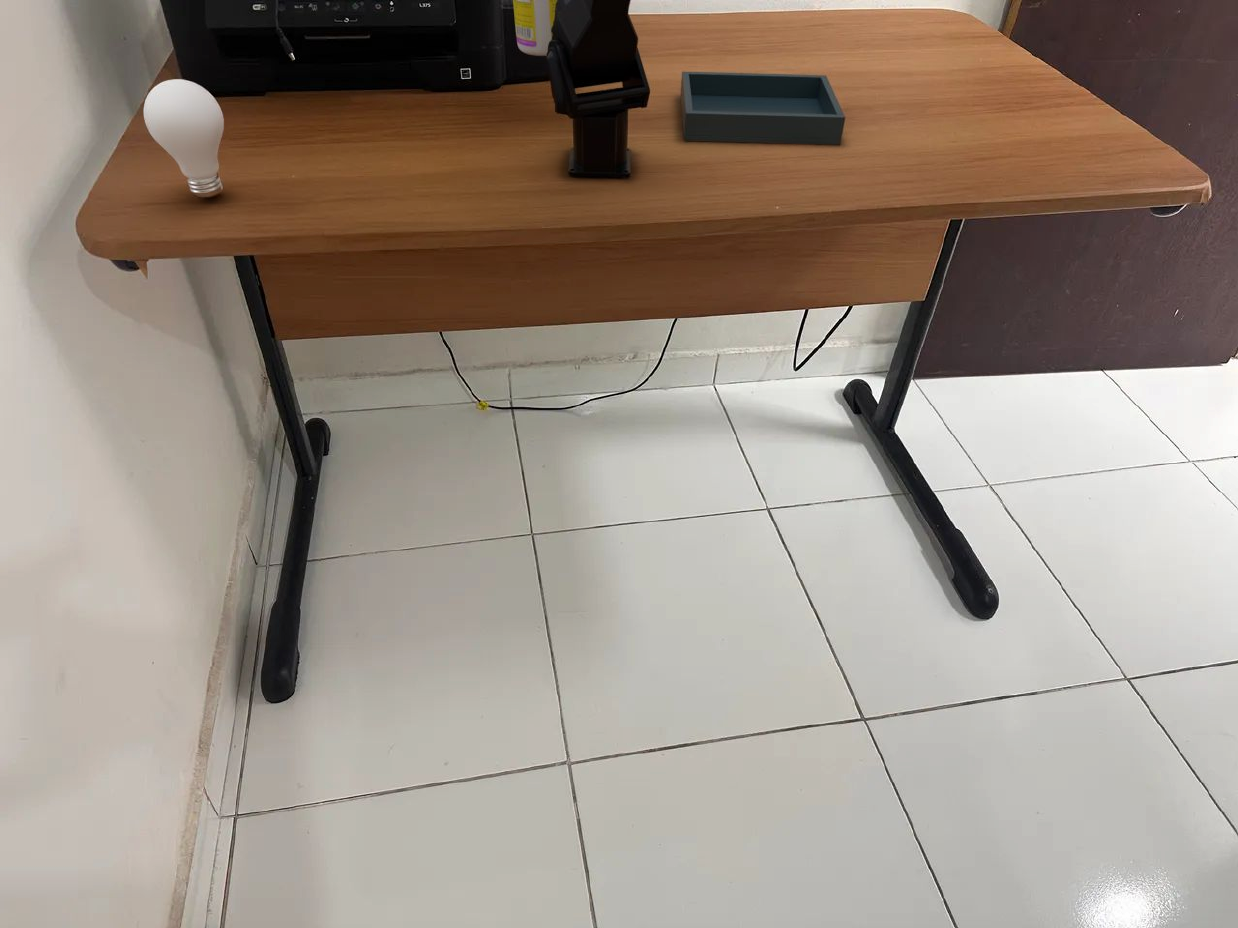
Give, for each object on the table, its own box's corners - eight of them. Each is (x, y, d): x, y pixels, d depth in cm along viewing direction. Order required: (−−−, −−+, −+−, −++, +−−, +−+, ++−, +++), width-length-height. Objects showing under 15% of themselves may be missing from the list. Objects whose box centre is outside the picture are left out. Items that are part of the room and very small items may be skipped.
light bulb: (253, 183, 87) (221, 69, 80) (233, 213, 83) (198, 94, 75) (186, 182, 87) (148, 68, 80) (162, 212, 82) (120, 94, 75)
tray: (840, 145, 97) (845, 117, 95) (684, 141, 97) (685, 113, 95) (821, 101, 107) (826, 75, 105) (680, 97, 108) (681, 71, 105)
